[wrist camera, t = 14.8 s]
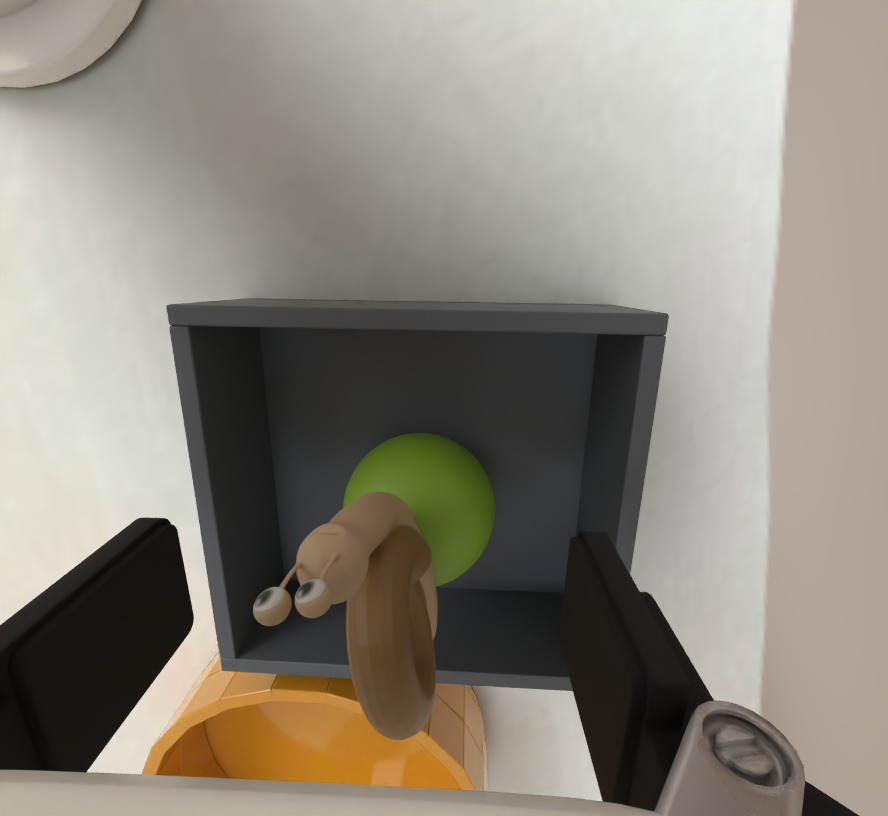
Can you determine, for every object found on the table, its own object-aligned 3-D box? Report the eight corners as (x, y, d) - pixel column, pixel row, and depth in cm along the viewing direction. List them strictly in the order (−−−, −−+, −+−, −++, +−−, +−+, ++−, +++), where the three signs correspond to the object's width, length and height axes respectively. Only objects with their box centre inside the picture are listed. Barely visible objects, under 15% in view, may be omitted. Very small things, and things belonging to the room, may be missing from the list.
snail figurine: (467, 377, 17) (467, 561, 6) (503, 519, 19) (558, 883, 8) (338, 408, 18) (109, 631, 7) (383, 544, 20) (264, 913, 8)
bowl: (178, 600, 22) (106, 680, 17) (492, 616, 21) (498, 703, 17) (217, 820, 26) (167, 927, 22) (480, 839, 25) (482, 955, 21)
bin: (248, 298, 18) (165, 304, 13) (612, 304, 17) (670, 313, 12) (277, 583, 21) (221, 671, 16) (578, 597, 21) (612, 693, 16)
